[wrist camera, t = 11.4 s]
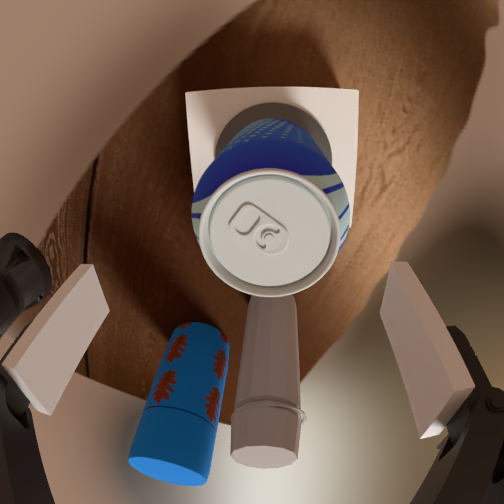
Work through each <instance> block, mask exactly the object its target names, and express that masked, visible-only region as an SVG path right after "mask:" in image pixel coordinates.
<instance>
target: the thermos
mask: <svg viewBox="0 0 504 504" xmlns="http://www.w3.org/2000/svg"><path fill="white" fill-rule="evenodd" d="M229 345H230V344H229V342H228V340H227V337H226V336H225V335H224V334H223V333H222V332H221V331H220V330H218V329H216V328H215V327H213V326H211V325H208V324H204V323H201V322H188V323H184V324H181V325H179V326H178V327H177V328H176V329H175V330H174V332H173V334H172V336H171V338H170V340H169V342H168V345H167V347H166V350H165V352H164V355H163V358H162V360H161V363H160V366H159V368H158V371H157V374H156V377H155V379H154V382H153V385H152V388H151V390H150V393H149V396H148V399H147V402H146V405H145V407H144V410H143V413H142V416H141V419H140V422H139V425H138V428H137V431H136V434H135V437H134V440H133V443H132V446H131V449H130V453H129V459H128V462H129V463H130V465H131V466H132V467H134V468H135V469H136V470H138V471H140V472H142V473H144V474H145V475H147V476H150V477H152V478H155V479H158V480H161V481H164V482H168V483H172V484H178V485H184V486H197V485H203V484H205V483H206V482H207V479H208V475H209V472H210V466H211V461H212V455H213V449H214V444H215V438H216V432H217V426H218V420H219V414H220V408H221V403H222V397H223V391H224V385H225V379H226V374H227V368H228V358H229Z"/></svg>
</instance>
